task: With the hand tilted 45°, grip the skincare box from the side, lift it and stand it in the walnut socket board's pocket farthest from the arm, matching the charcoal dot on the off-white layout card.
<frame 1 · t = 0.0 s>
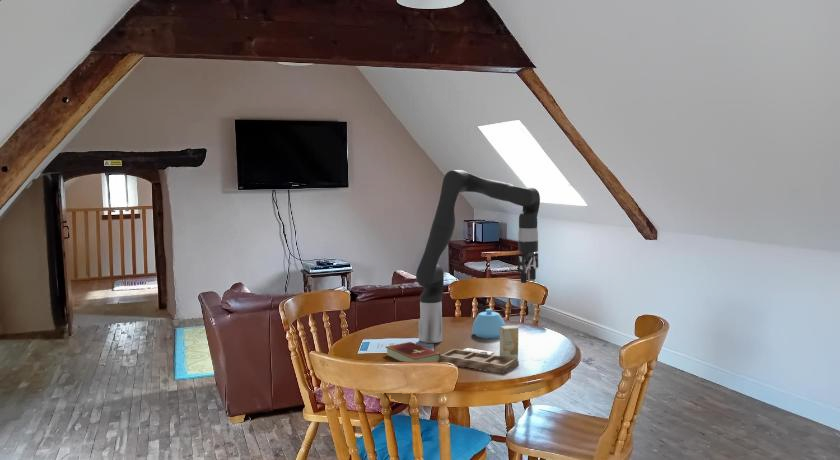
hand: (528, 281, 248), 29 cm above the table, tool pointing down, fingers open, 8 cm apart
layout card: (475, 353, 254), on the table
socket board: (478, 363, 240), on the table
skincare box: (509, 358, 247), on the table
sugar bowl: (489, 335, 283), on the table
hardcover book: (412, 360, 249), on the table
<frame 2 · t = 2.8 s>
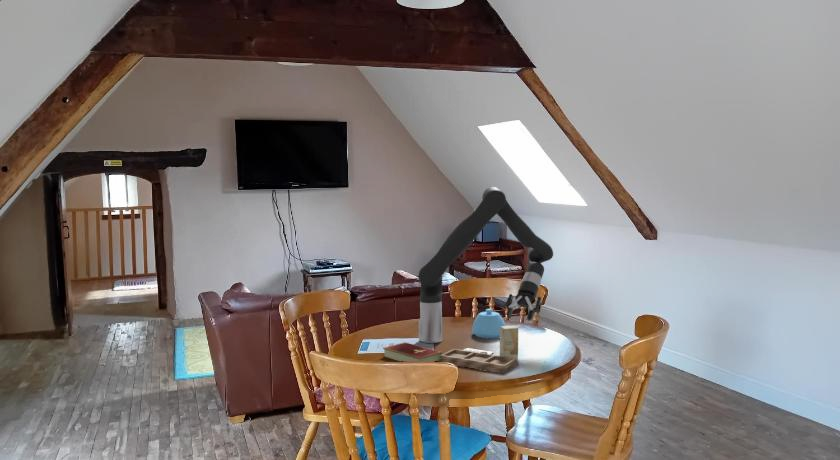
hand: (518, 318, 253), 14 cm above the table, tool tilted 45°, fingers open, 8 cm apart
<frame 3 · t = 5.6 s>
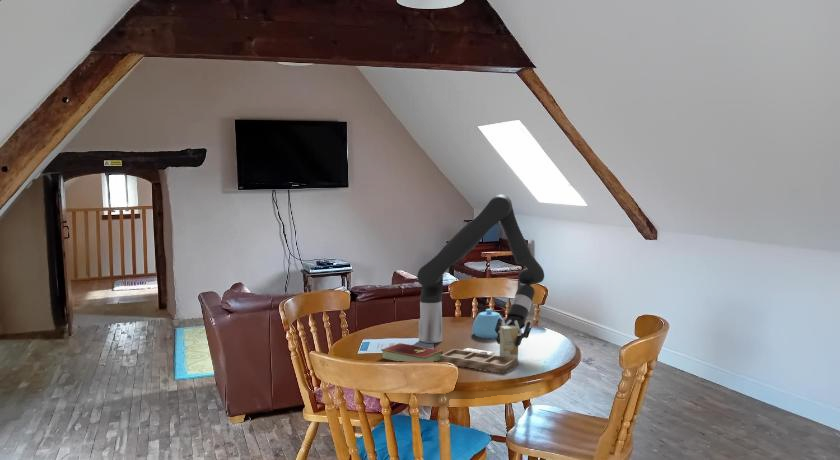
hand: (507, 344, 245), 6 cm above the table, tool tilted 45°, fingers closed on skincare box, 7 cm apart
skincare box: (509, 358, 247), on the table, touching gripper
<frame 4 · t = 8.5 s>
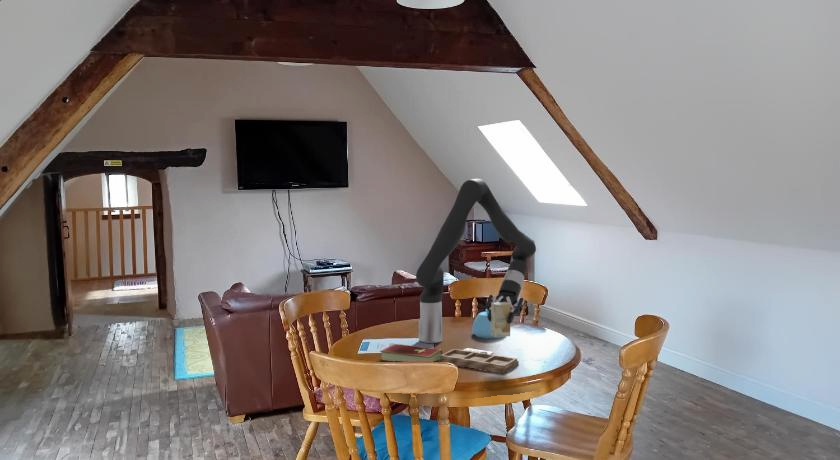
hand: (498, 321, 233), 17 cm above the table, tool tilted 45°, fingers closed on skincare box, 7 cm apart
skincare box: (500, 336, 235), point 11 cm above the table, touching gripper
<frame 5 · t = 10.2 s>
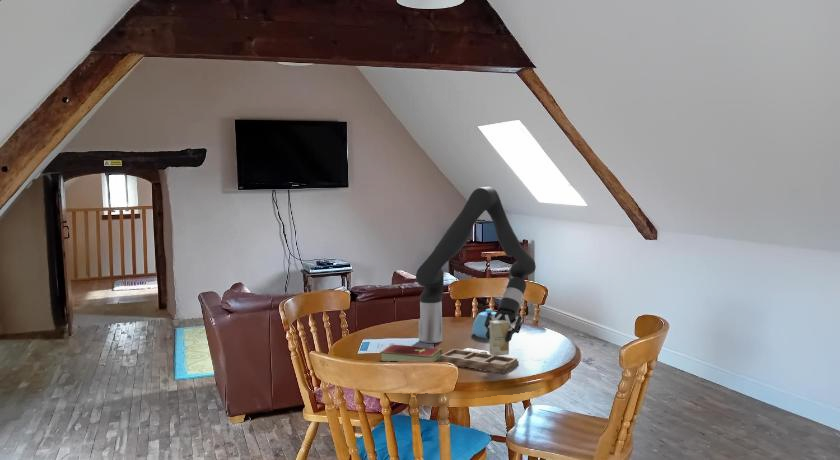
hand: (497, 339, 233), 11 cm above the table, tool tilted 45°, fingers closed on skincare box, 7 cm apart
skincare box: (499, 354, 234), point 5 cm above the table, touching gripper
when the fingers open (8 cm above the table, at t = 11.6 s): skincare box stays where it is, resting on socket board.
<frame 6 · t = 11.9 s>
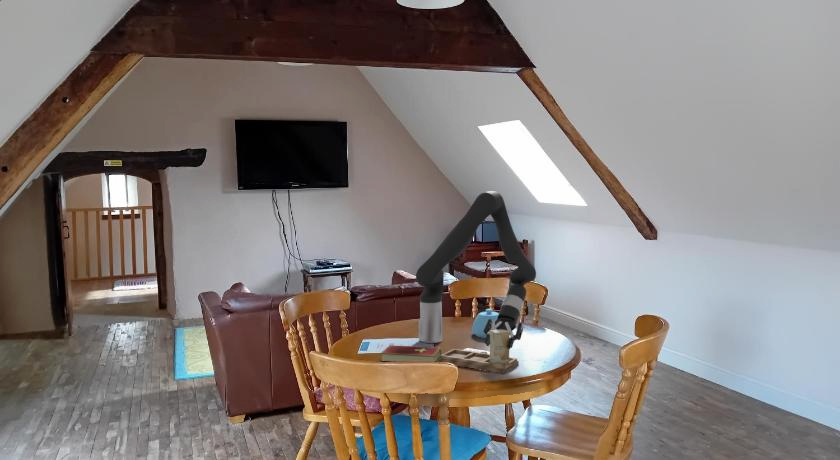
hand: (497, 346, 233), 8 cm above the table, tool tilted 45°, fingers open, 8 cm apart
skincare box: (499, 363, 235), point 1 cm above the table, touching socket board
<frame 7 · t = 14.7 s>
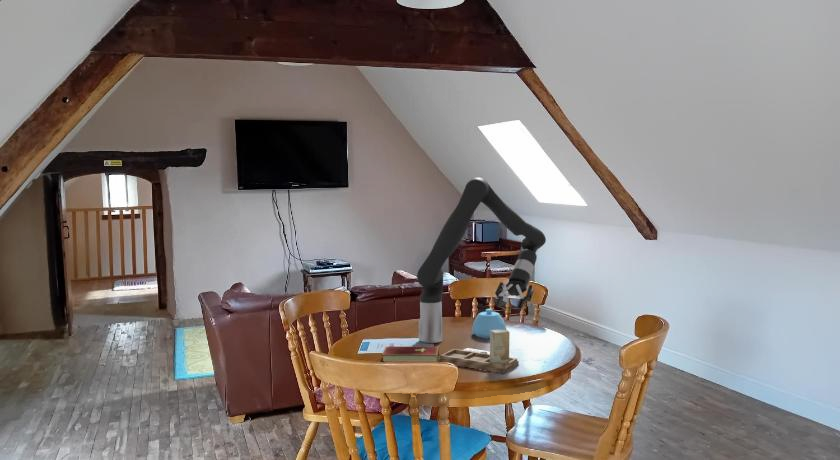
hand: (508, 307, 243), 20 cm above the table, tool tilted 45°, fingers open, 8 cm apart
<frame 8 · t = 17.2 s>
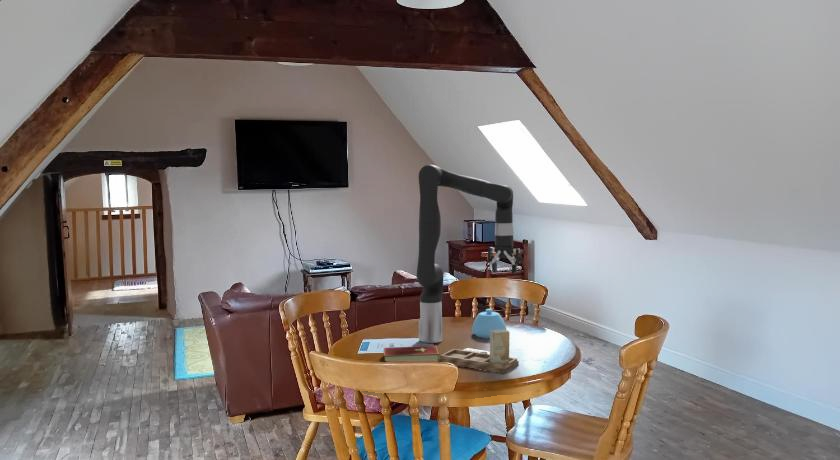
hand: (504, 272, 264), 30 cm above the table, tool pointing down, fingers open, 8 cm apart
at the end: skincare box 0.3 cm from the target spot on the socket board, point 1.3 cm above the socket board's base; skincare box tilted 0°; the gripper is holding nothing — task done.
